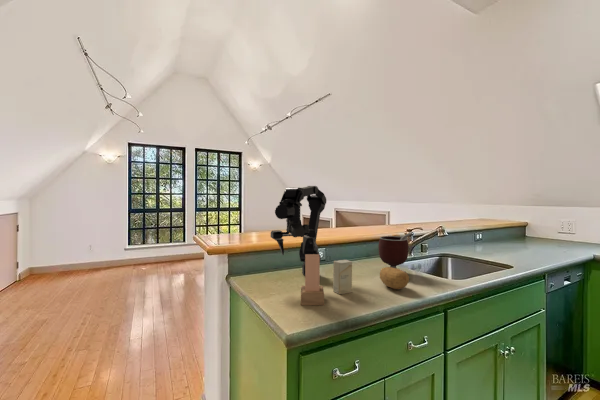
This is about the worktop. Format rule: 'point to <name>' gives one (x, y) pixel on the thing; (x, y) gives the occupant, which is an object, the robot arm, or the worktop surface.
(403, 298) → the worktop surface
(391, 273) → the potato
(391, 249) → the mate gourd
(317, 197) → the robot arm
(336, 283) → the skincare box
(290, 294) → the worktop surface
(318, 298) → the plinth
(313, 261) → the block
